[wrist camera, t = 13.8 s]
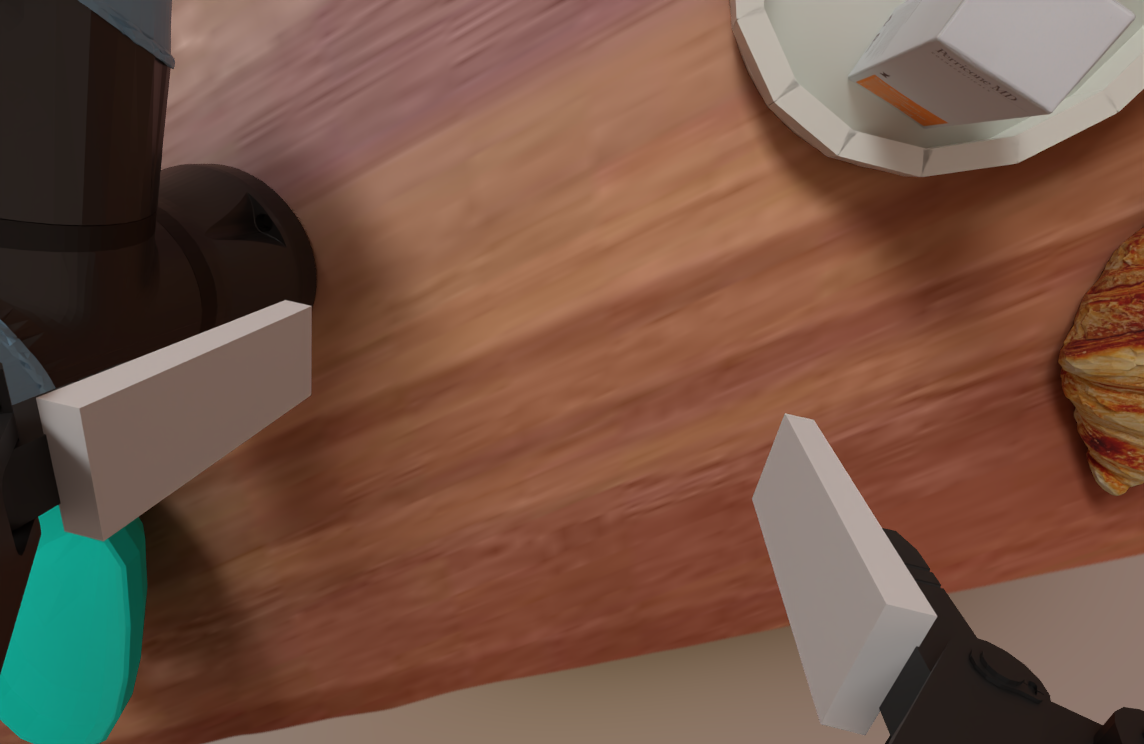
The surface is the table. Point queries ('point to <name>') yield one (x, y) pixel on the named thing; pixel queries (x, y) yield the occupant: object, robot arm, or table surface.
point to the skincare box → (986, 56)
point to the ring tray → (876, 129)
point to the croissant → (1110, 369)
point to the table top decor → (76, 636)
